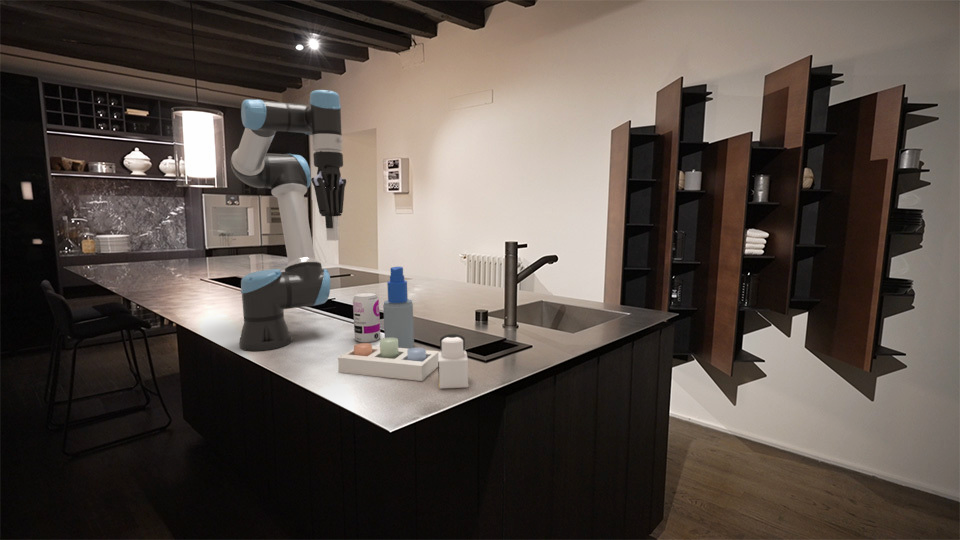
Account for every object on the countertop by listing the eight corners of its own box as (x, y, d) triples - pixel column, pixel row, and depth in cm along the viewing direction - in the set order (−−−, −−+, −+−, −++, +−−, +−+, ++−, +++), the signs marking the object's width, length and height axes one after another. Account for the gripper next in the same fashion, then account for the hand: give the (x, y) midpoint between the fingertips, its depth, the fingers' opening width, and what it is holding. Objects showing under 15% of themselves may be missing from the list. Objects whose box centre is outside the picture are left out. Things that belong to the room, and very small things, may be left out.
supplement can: (383, 336, 162) (381, 292, 159) (375, 343, 153) (373, 297, 151) (359, 335, 162) (357, 292, 160) (351, 342, 154) (348, 296, 152)
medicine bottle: (438, 378, 123) (437, 332, 121) (466, 377, 124) (466, 331, 122) (438, 389, 116) (437, 340, 114) (468, 387, 117) (467, 339, 115)
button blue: (404, 370, 126) (404, 352, 126) (412, 364, 131) (412, 346, 130) (421, 372, 125) (421, 353, 124) (429, 366, 129) (428, 348, 129)
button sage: (377, 360, 128) (376, 341, 128) (385, 354, 133) (385, 336, 132) (393, 361, 127) (392, 343, 126) (401, 355, 131) (401, 338, 131)
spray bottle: (394, 342, 155) (391, 264, 151) (419, 344, 152) (416, 265, 148) (379, 350, 146) (376, 268, 143) (405, 353, 143) (403, 270, 140)
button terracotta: (351, 365, 131) (350, 347, 130) (360, 359, 135) (359, 342, 135) (366, 366, 130) (366, 348, 129) (375, 361, 134) (375, 343, 133)
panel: (338, 372, 128) (337, 357, 128) (362, 357, 139) (361, 344, 139) (421, 381, 121) (421, 365, 121) (439, 365, 133) (439, 351, 132)
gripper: (325, 149, 121) (330, 242, 125) (353, 153, 134) (357, 238, 137) (300, 150, 124) (306, 242, 127) (330, 154, 136) (334, 238, 139)
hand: (332, 240), depth 132 cm, fingers closed
